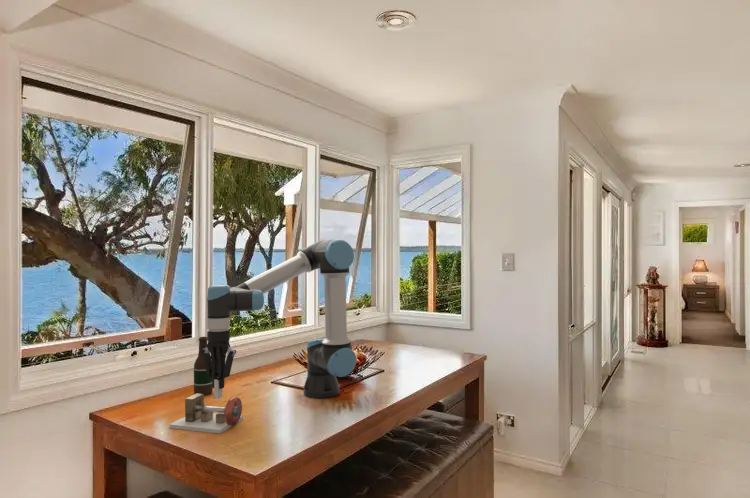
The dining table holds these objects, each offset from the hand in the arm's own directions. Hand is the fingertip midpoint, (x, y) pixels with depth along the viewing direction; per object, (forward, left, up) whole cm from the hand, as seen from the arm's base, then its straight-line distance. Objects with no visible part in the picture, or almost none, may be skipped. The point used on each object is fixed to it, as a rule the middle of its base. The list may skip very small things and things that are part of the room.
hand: (218, 397), depth 169 cm
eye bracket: (+5, 0, -8) cm, 9 cm away
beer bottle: (+28, -31, -10) cm, 43 cm away
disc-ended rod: (+3, 0, -9) cm, 9 cm away
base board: (+5, 0, -10) cm, 11 cm away
